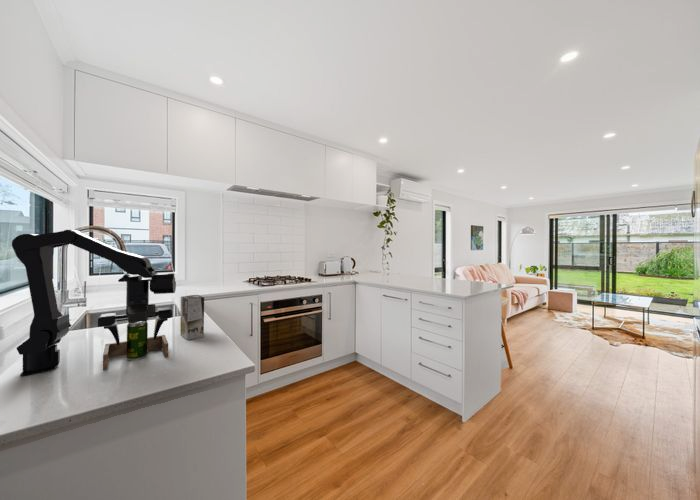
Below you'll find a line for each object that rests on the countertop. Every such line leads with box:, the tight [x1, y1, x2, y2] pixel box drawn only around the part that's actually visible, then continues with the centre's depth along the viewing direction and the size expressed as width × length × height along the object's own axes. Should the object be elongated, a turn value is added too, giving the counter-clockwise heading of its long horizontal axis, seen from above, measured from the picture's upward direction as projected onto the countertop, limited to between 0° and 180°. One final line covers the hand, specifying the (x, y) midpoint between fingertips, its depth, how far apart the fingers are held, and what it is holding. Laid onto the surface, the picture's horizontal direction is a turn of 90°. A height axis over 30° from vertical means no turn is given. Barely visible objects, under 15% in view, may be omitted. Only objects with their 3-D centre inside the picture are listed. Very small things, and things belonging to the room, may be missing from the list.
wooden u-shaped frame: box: [102, 334, 169, 371], centre depth 88 cm, size 16×11×4 cm
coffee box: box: [179, 294, 205, 341], centre depth 110 cm, size 9×6×16 cm
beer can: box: [125, 320, 149, 362], centre depth 88 cm, size 5×5×12 cm
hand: (137, 342), depth 88 cm, fingers open, 9 cm apart
